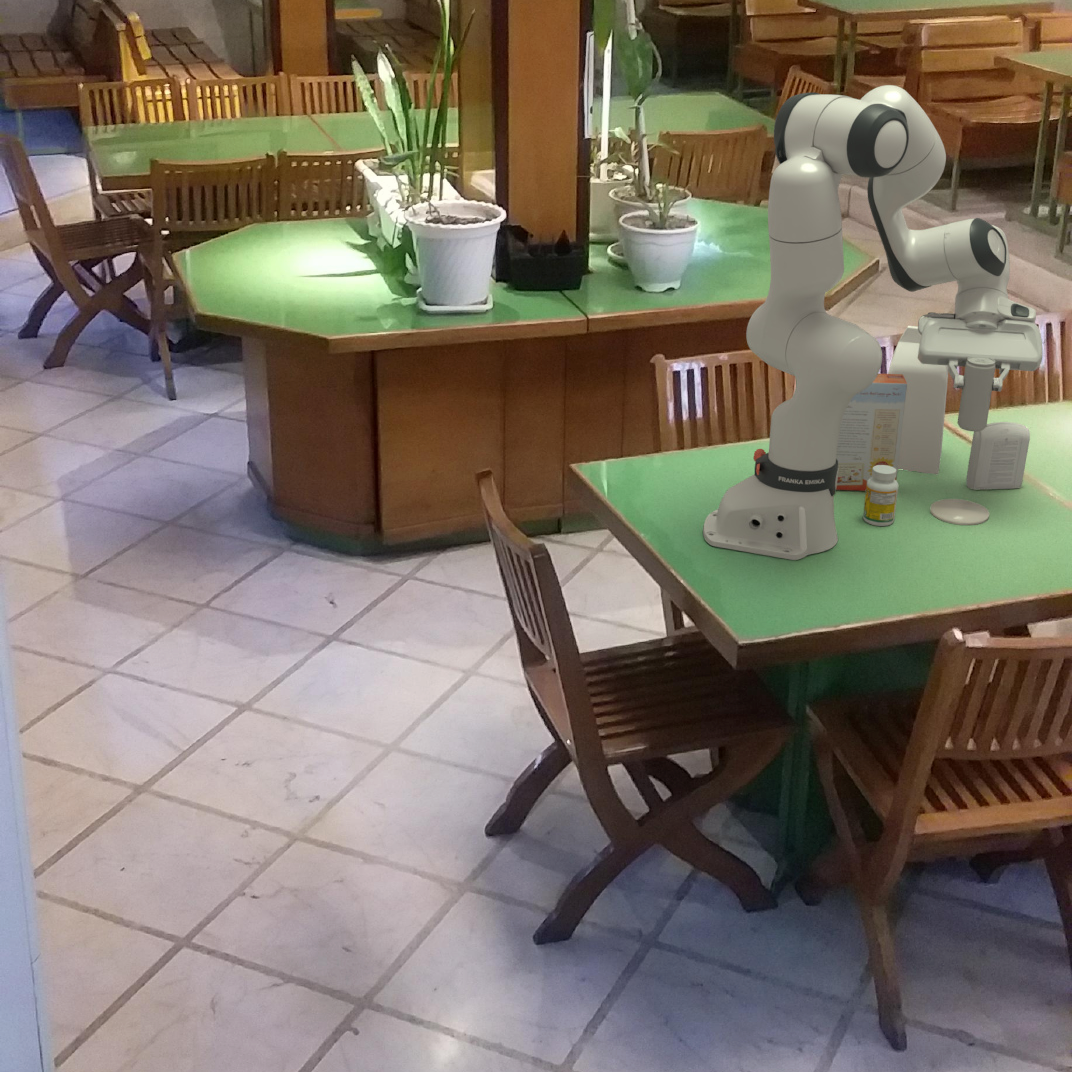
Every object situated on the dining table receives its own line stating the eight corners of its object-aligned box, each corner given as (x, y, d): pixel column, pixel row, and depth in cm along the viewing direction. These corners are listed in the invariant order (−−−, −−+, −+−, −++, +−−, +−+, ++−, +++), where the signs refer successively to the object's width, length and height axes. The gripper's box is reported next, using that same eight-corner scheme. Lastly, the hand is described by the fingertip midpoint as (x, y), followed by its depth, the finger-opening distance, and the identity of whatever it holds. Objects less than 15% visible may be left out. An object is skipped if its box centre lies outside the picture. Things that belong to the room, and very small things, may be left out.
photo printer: (1015, 480, 269) (1025, 417, 264) (1025, 489, 265) (1035, 425, 260) (961, 483, 268) (971, 419, 263) (971, 492, 264) (980, 428, 259)
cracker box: (891, 480, 269) (904, 372, 260) (895, 493, 263) (909, 383, 254) (814, 477, 270) (825, 369, 261) (817, 490, 264) (827, 380, 255)
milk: (872, 467, 275) (888, 333, 264) (878, 445, 285) (893, 316, 274) (938, 474, 272) (956, 340, 261) (941, 452, 282) (959, 322, 271)
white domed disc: (931, 522, 252) (931, 519, 251) (928, 499, 261) (929, 496, 260) (991, 527, 250) (991, 524, 250) (986, 504, 259) (986, 501, 259)
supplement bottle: (888, 529, 249) (894, 477, 245) (858, 522, 252) (864, 471, 247) (898, 518, 253) (904, 467, 249) (868, 511, 256) (874, 461, 252)
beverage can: (987, 433, 246) (997, 365, 241) (957, 431, 247) (967, 363, 242) (985, 423, 250) (995, 356, 245) (956, 421, 251) (965, 354, 246)
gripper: (920, 302, 248) (916, 375, 244) (1045, 310, 245) (1043, 384, 240) (916, 320, 254) (912, 392, 250) (1038, 328, 251) (1036, 400, 246)
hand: (977, 388), depth 245 cm, fingers closed on beverage can, 5 cm apart
